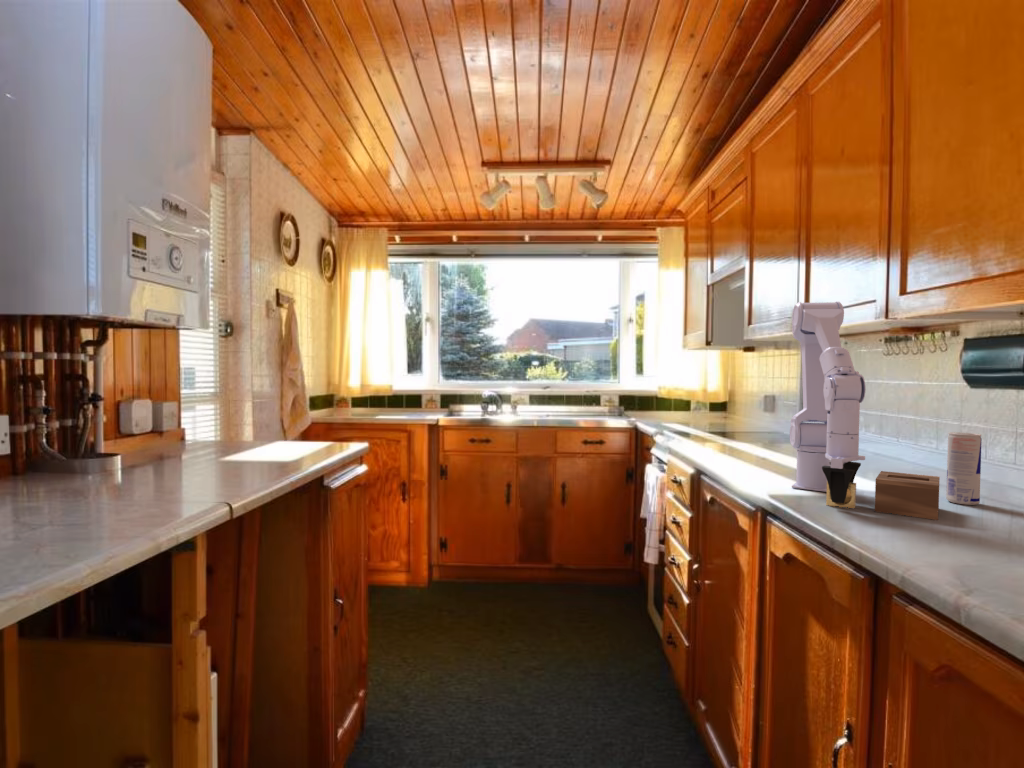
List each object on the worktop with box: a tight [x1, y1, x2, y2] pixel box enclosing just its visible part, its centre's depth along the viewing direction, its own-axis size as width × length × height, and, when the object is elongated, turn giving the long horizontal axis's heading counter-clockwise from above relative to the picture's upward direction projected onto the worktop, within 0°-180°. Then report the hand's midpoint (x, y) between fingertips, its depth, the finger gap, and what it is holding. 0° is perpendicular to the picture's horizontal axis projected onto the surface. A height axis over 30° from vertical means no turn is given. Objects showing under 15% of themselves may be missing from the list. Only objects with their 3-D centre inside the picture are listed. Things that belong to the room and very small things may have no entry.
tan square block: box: [825, 481, 857, 509], centre depth 117 cm, size 2×5×5 cm, turn 52°
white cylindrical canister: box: [945, 431, 982, 506], centre depth 122 cm, size 6×6×15 cm
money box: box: [874, 470, 941, 521], centre depth 114 cm, size 12×10×6 cm
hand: (841, 499), depth 117 cm, fingers open, 7 cm apart
